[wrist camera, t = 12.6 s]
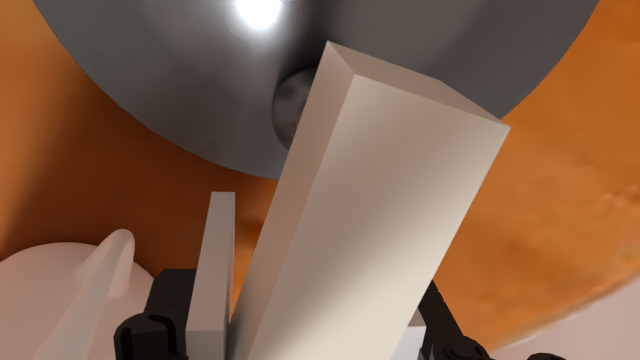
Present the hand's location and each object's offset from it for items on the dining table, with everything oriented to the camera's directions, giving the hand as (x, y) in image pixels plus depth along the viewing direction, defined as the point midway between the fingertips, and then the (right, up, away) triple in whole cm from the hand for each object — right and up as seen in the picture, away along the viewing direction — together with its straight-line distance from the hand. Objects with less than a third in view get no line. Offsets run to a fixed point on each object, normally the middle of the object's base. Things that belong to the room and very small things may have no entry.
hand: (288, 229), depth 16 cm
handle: (+1, +2, 0) cm, 3 cm away
